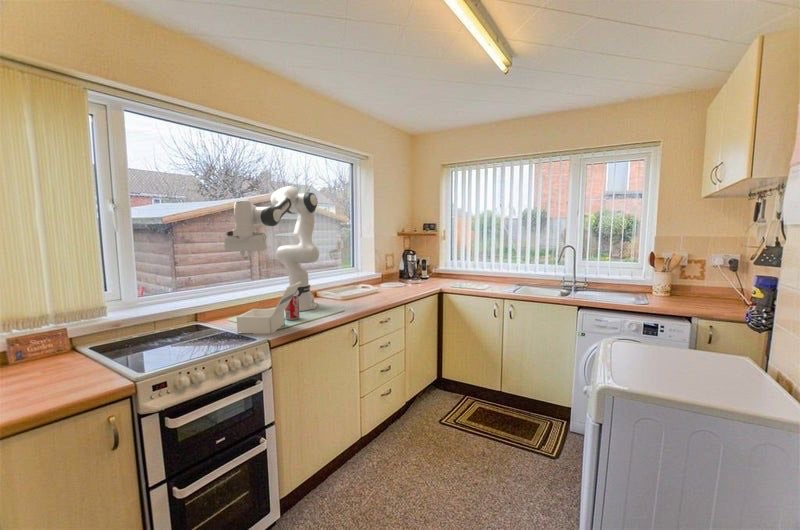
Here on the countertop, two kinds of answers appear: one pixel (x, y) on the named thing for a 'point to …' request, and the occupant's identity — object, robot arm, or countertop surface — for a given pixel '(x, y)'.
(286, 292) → the mailer lid
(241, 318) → the box
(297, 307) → the soda can
